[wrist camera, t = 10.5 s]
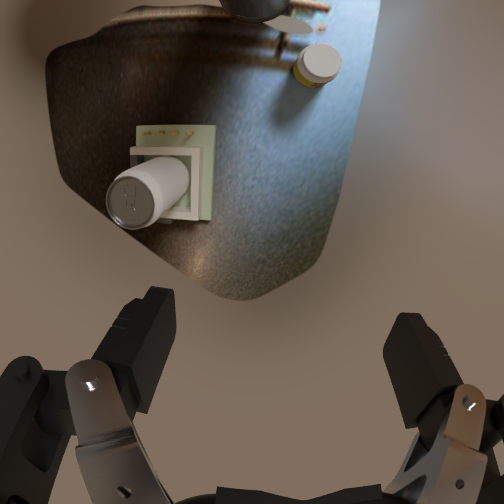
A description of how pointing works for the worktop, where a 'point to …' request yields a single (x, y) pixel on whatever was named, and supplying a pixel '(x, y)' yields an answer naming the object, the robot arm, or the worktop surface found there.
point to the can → (146, 191)
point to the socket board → (194, 158)
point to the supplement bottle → (316, 65)
